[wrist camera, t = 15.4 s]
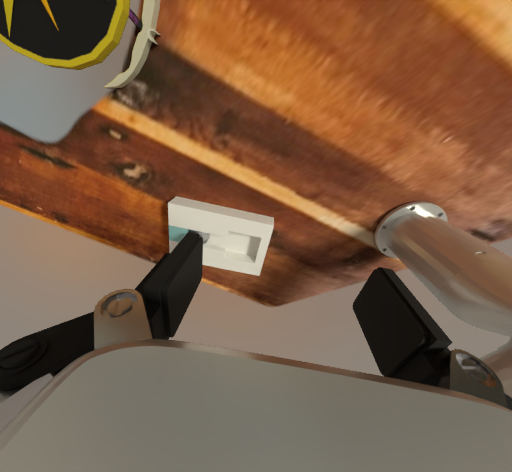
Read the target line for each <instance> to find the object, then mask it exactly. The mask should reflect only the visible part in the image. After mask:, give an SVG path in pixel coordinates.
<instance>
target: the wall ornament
mask: <svg viewBox="0 0 512 472" xmlns="http://www.w3.org/2000/svg"><path fill="white" fill-rule="evenodd" d="M159 7H160V0H144V5H143V12H142V22H141V21H140V20H139V19H138V17H137V16H136V15H135V14H134V12H133V11H132V10H131V9H130V0H0V40H1V41H2V42H4V43H5V44H6V45H7V46H9V47H10V48H11V49H13V50H14V51H16V52H18V53H21V54H23V55H25V56H27V57H29V58H32V59H34V60H36V61H38V62H40V63H43V64H45V65H48V66H52V67H58V68H67V69H76V70H81V69H84V68H87V67H90V66H93V65H95V64H98V63H101V62H103V60H104V59H105V58H106V57H107V56H108V55H109V54H110V53H111V52H112V51H113V49H115V48H116V46H117V45H118V44H119V42H120V39H121V36H122V33H123V31H124V28H125V25H126V22H127V19H128V17H129V18H130V19H131V20H132V21H133V23H134V24H135V25H136V26H137V27H138V29H139V30H140V31H141V32H139V33H138V36H137V39H136V42H135V45H134V48H133V51H132V60H131V64H130V67H129V69H128V70H127V71H126V72H124V73H121V74H119V75H118V76H117V77H116V78H115V79H114V80H112V81H111V82H110V83H109V84H107V85H106V86H104V88H109V89H110V88H123V87H124V86H126V85H127V84H129V83H130V82H131V81H132V80H133V79H134V78H135V77H136V76H137V75H138V74H139V72H140V70H141V68H142V66H143V64H144V63H145V61H146V58H147V55H148V52H149V50H150V47H151V44H152V42H154V43H155V44H157V43H156V42H155V40H154V36H155V35H160V34H159V33H158V32H156V31H155V30H156V25H157V20H158V15H159ZM142 23H143V24H142ZM160 36H161V35H160ZM157 45H158V44H157Z"/></svg>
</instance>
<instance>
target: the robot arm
mask: <svg viewBox="0 0 512 472" xmlns="http://www.w3.org/2000/svg"><path fill="white" fill-rule="evenodd" d="M374 241H375V244H376V246H377V248H378V249H379V250H380V251H381V252H382V253H383V254H384V255H386V256H388V257H392V258H399V260H400V261H401V262H402V263H403V264H404V265H405V266H406V267H407V268H408V269H409V270H410V271H411V272H412V273H413V274H414V275H415V276H416V277H417V278H418V279H419V280H420V281H421V282H422V283H423V284H424V285H425V287H427V289H428V290H429V291H430V292H431V293H432V294H433V295H434V296H435V297H436V298H437V299H438V300H439V301H440V302H441V303H442V304H443V305H444V306H445V307H446V308H447V309H448V310H449V311H450V312H451V313H452V314H453V315H454V316H456V317H457V318H459V319H461V320H462V321H464V322H466V323H468V324H470V325H473V326H475V327H477V328H480V329H484V330H487V331H491V332H494V333H498V334H502V335H507V336H510V340H509V341H508V342H507V343H506V344H504V345H502V346H500V347H498V349H497V350H495V351H493V352H491V353H489V354H487V355H485V356H483V357H481V358H477V357H475V356H474V355H472V354H470V353H469V352H466V351H463V350H460V349H454V350H452V351H450V350H449V349H448V348H447V347H448V346H449V345H450V344H451V343H452V341H451V340H450V339H449V338H448V337H447V335H445V333H444V332H443V331H442V329H441V328H440V327H439V326H438V325H437V323H436V322H435V321H434V320H433V319H432V317H431V316H430V315H429V314H428V312H427V311H426V310H425V309H424V308H423V306H422V305H421V304H420V303H419V302H418V300H416V298H415V297H414V296H413V294H412V293H411V292H410V291H409V289H408V288H407V287H406V286H405V285H404V283H403V282H402V281H401V280H400V278H399V277H398V276H397V275H396V274H395V272H394V271H393V270H391V269H387V268H381V267H379V268H377V269H375V270H374V271H373V272H372V274H371V275H370V277H369V278H368V280H367V282H366V283H365V285H364V287H363V288H362V290H361V291H360V293H359V295H358V296H357V298H356V299H355V301H354V303H353V310H354V312H355V314H356V317H357V319H358V321H359V324H360V326H361V328H362V331H363V333H364V335H365V338H366V340H367V342H368V345H369V347H370V349H371V351H372V354H373V356H374V359H375V361H376V363H377V366H378V368H379V370H380V372H381V374H382V375H384V377H383V376H378V375H373V374H367V373H362V372H357V371H351V370H345V369H340V368H334V367H329V366H323V365H318V364H313V363H307V362H302V361H296V360H291V359H285V358H279V357H274V356H268V355H262V354H257V353H251V352H245V351H240V350H234V349H228V348H222V347H216V346H210V345H203V344H197V343H191V342H184V341H175V340H168V339H169V337H173V336H174V335H175V333H176V331H177V329H178V327H179V325H180V323H181V321H182V319H183V316H184V314H185V312H186V310H187V308H188V306H189V304H190V302H191V300H192V298H193V296H194V293H195V292H196V289H197V287H198V285H199V283H200V281H201V278H202V261H203V237H200V234H198V233H192V232H188V233H187V234H186V235H185V236H184V237H183V239H182V240H181V241H180V242H179V243H178V245H177V246H176V247H175V248H174V249H173V251H172V252H171V253H166V254H165V255H164V256H163V257H162V258H161V259H160V261H159V262H158V263H157V264H156V265H155V267H154V268H153V269H152V270H151V271H150V272H149V273H148V275H147V276H146V277H145V278H144V279H143V280H142V282H141V283H140V284H139V285H138V286H137V287H136V288H135V290H132V289H122V290H117V291H114V292H112V293H110V294H108V295H106V296H105V297H103V298H102V299H101V300H100V301H99V302H98V303H97V305H96V306H95V310H94V312H92V313H89V314H86V315H83V316H80V317H78V318H75V319H72V320H70V321H67V322H64V323H61V324H59V325H55V326H53V327H50V328H47V329H44V330H42V331H39V332H36V333H34V334H31V335H28V336H25V337H23V338H21V339H18V340H16V341H14V342H12V343H10V344H9V345H7V346H5V347H4V348H2V349H1V350H0V472H512V257H510V256H508V255H506V254H504V253H503V252H501V251H499V250H497V249H496V248H494V247H492V246H490V245H488V244H486V243H485V242H483V241H481V240H479V239H477V238H475V237H474V236H472V235H470V234H468V233H466V232H465V231H463V230H461V229H459V228H457V227H455V226H454V225H452V224H450V223H448V222H447V216H446V213H445V212H444V211H443V209H442V208H440V207H439V206H437V205H435V204H433V203H430V202H425V201H417V202H411V203H407V204H404V205H402V206H399V207H397V208H396V209H394V210H392V211H391V212H390V213H388V214H387V215H386V216H385V217H384V218H383V219H382V220H381V222H380V223H379V225H378V226H377V229H376V231H375V235H374Z"/></svg>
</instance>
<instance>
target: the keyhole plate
mask: <svg viewBox="0 0 512 472" xmlns="http://www.w3.org/2000/svg"><path fill="white" fill-rule="evenodd" d="M168 220H169V251H170V253H171V252H172V251H173V249H174V248H175V247H176V245H177V244H178V242H179V241H180V240H181V238H182V237H183V236H184V235H186V234H187V233H188V232H189V229H190V230H195V231H200V232H204V233H209V234H210V238H209V240H208V241H207V242H206V243H205V244H203V261H202V265H207V266H212V267H217V268H222V269H227V270H232V271H237V272H242V273H247V274H252V275H257V276H259V275H260V272H261V268H262V265H263V262H264V258H265V255H266V251H267V248H268V244H269V241H270V237H271V234H272V231H273V227H274V218H273V217H269V216H264V215H260V214H255V213H250V212H246V211H241V210H236V209H232V208H227V207H223V206H218V205H213V204H209V203H204V202H200V201H195V200H190V199H186V198H181V197H177V196H176V197H175V198H173V199H172V200H171V201H170V202H168Z"/></svg>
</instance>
